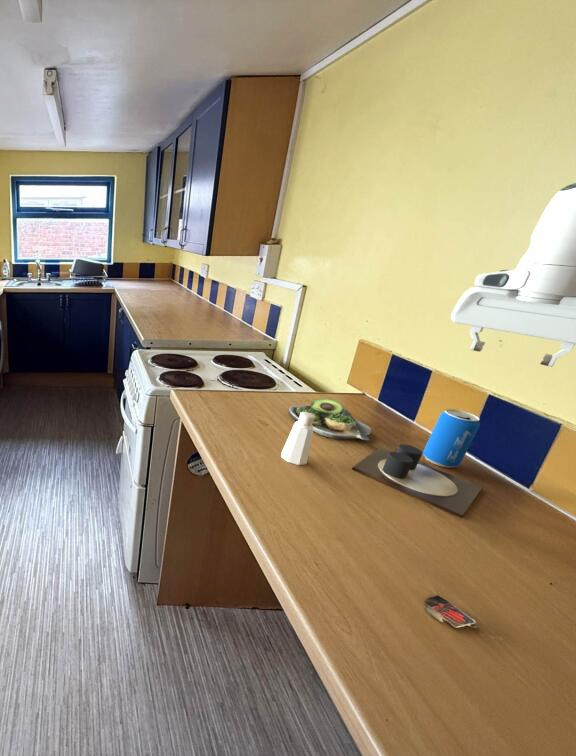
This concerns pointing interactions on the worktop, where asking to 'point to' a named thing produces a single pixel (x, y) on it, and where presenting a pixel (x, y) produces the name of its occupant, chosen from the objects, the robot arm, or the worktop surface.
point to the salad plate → (332, 420)
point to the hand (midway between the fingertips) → (509, 357)
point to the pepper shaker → (299, 440)
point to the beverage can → (451, 438)
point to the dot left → (410, 453)
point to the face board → (423, 483)
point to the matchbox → (448, 612)
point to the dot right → (397, 465)
